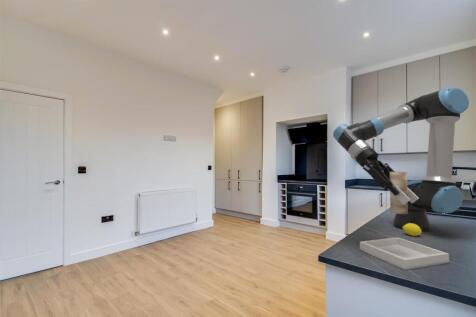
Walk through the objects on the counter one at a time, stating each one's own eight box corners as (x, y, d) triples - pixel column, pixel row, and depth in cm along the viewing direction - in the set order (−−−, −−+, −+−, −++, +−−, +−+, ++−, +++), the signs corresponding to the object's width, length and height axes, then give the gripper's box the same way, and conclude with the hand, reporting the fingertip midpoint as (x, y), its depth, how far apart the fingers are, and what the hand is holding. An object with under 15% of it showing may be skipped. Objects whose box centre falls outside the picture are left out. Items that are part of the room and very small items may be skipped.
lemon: (421, 236, 107) (423, 224, 107) (420, 239, 103) (422, 227, 103) (402, 231, 112) (404, 220, 111) (400, 234, 108) (402, 222, 107)
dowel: (398, 210, 87) (397, 171, 87) (411, 213, 82) (410, 172, 83) (387, 211, 86) (386, 171, 86) (399, 214, 81) (399, 172, 81)
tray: (398, 245, 95) (397, 237, 95) (449, 263, 77) (448, 253, 78) (359, 249, 90) (359, 241, 90) (405, 270, 73) (404, 260, 73)
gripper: (370, 160, 102) (415, 205, 88) (342, 160, 93) (388, 210, 79) (382, 147, 98) (432, 192, 83) (355, 146, 89) (406, 196, 74)
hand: (411, 201), depth 81 cm, fingers closed on dowel, 5 cm apart
